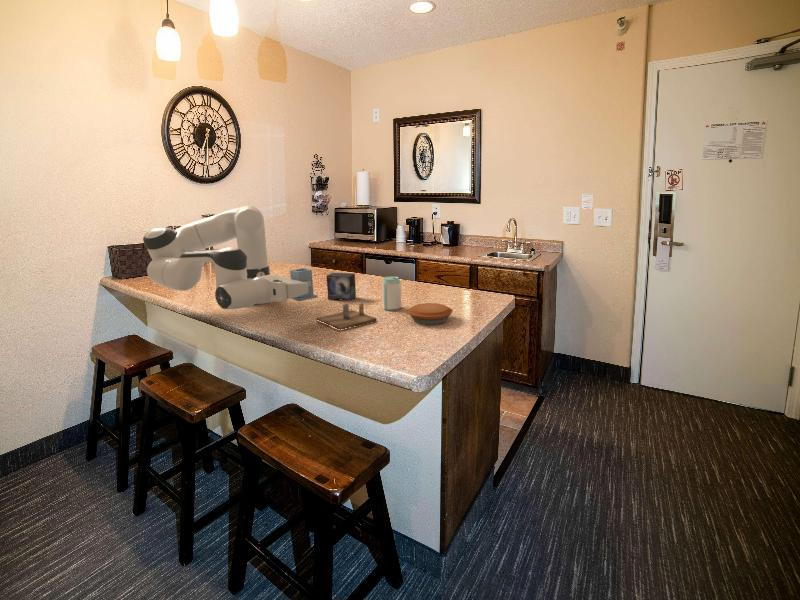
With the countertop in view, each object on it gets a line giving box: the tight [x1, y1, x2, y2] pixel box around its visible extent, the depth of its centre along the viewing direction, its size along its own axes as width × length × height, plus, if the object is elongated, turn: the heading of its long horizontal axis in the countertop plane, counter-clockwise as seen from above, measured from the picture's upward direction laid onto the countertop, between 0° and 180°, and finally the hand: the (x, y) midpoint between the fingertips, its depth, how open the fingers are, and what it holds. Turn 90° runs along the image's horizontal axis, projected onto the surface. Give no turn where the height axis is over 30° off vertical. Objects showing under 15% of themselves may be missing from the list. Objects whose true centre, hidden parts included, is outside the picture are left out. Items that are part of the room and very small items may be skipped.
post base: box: [316, 302, 378, 330], centre depth 156 cm, size 15×15×6 cm
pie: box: [407, 302, 453, 326], centre depth 156 cm, size 15×16×5 cm
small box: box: [326, 272, 357, 301], centre depth 188 cm, size 11×6×10 cm, turn 73°
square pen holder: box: [289, 267, 319, 302], centre depth 156 cm, size 7×7×10 cm
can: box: [381, 275, 402, 311], centre depth 171 cm, size 7×7×12 cm
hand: (304, 281), depth 157 cm, fingers closed on square pen holder, 6 cm apart
